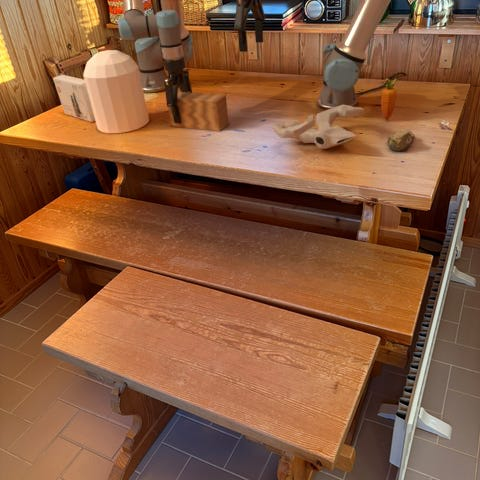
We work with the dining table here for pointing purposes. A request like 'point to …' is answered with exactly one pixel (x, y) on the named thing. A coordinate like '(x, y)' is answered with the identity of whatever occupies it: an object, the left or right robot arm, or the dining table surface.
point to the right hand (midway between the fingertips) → (251, 46)
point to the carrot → (388, 99)
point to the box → (201, 111)
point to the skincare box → (74, 97)
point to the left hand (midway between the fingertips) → (183, 119)
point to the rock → (400, 140)
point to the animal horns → (320, 128)
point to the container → (115, 92)
